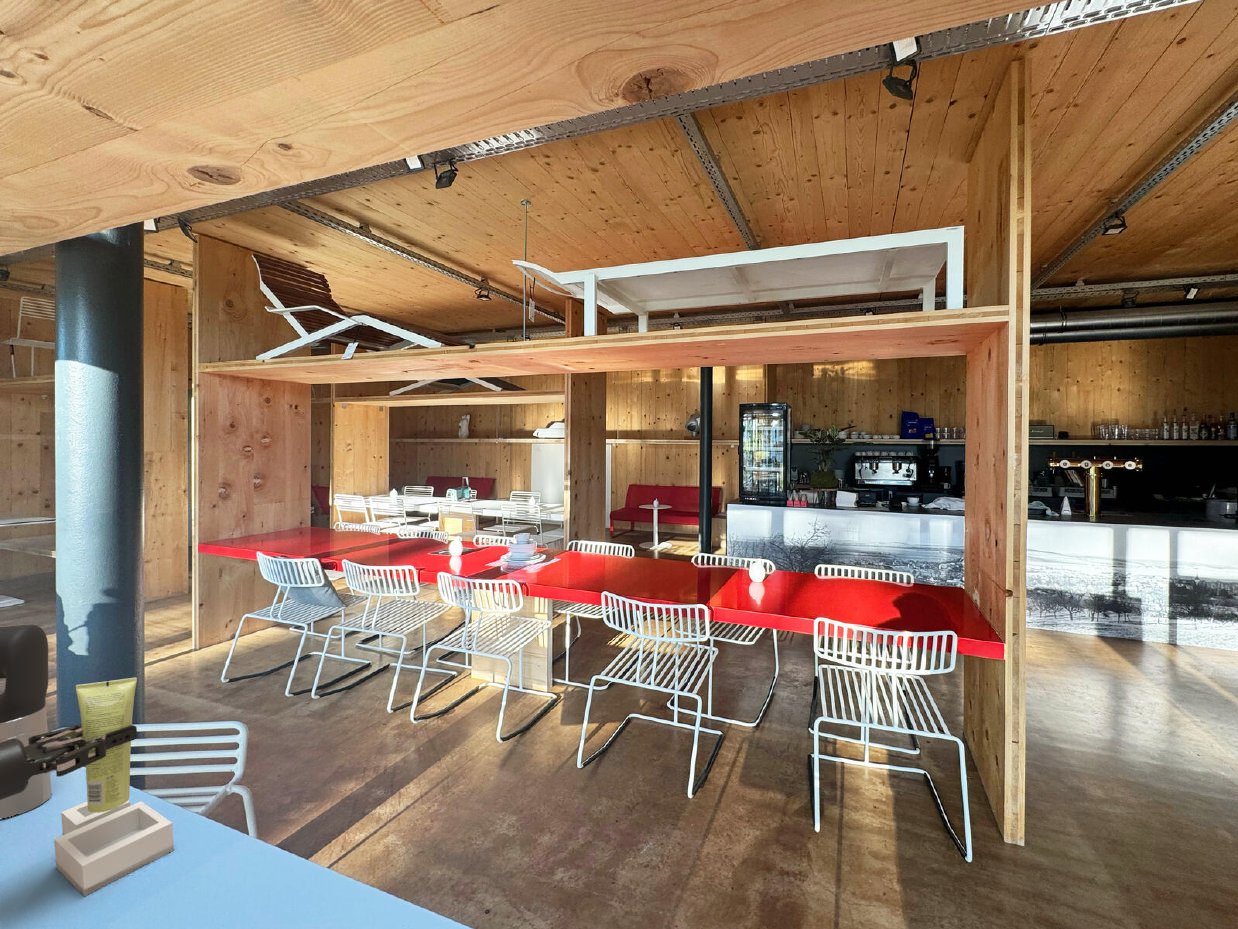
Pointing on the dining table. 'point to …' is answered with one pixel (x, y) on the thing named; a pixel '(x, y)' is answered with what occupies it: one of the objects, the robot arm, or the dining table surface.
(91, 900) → the dining table surface
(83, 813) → the endcap
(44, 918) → the dining table surface
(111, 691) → the tube
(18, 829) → the dining table surface
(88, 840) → the endcap
